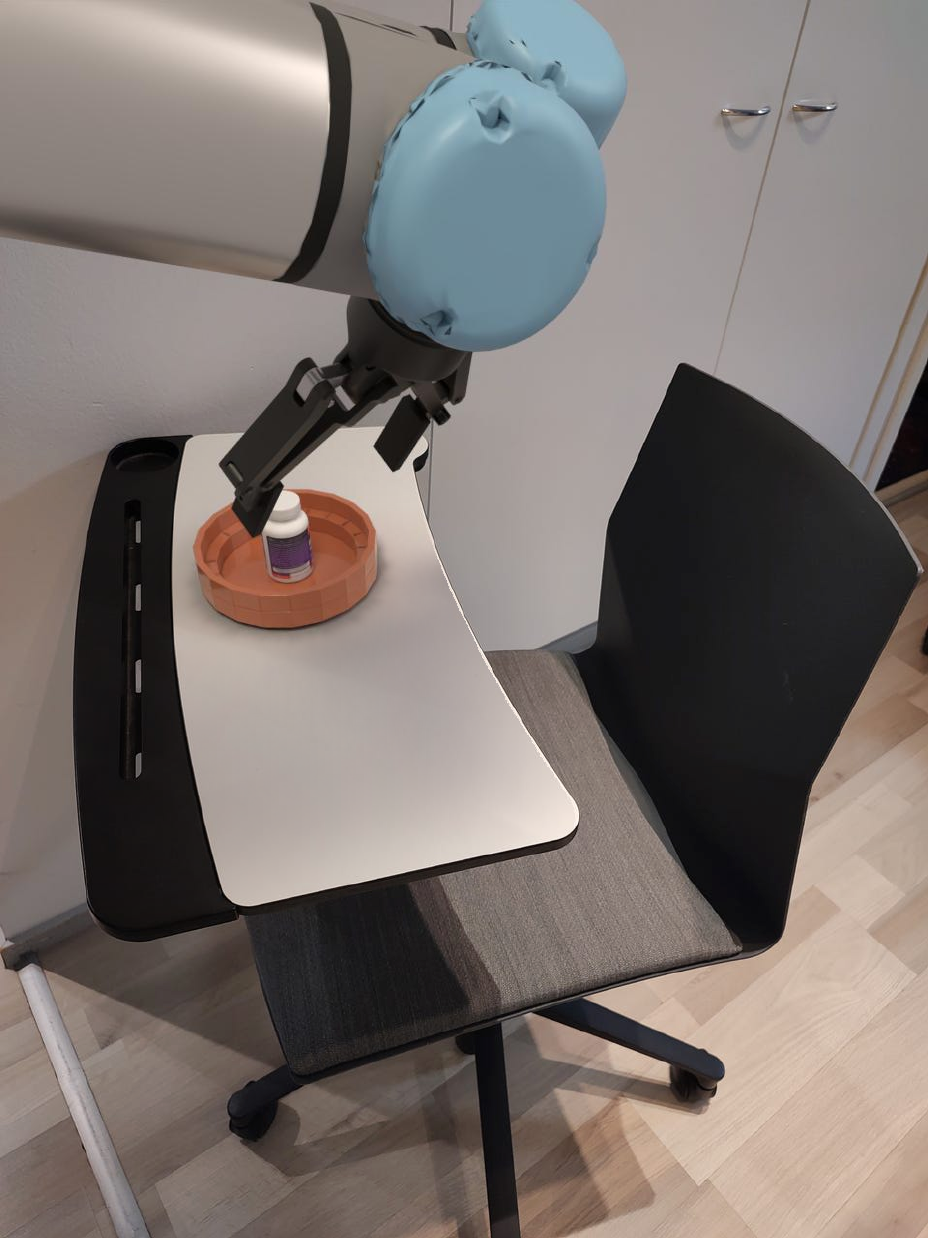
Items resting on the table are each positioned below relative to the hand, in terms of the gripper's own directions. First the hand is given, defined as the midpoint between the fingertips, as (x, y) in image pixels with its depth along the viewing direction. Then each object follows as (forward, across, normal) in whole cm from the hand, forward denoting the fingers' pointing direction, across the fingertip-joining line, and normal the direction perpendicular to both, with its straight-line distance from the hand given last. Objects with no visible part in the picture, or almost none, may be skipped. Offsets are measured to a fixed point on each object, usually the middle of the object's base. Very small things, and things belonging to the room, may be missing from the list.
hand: (320, 488), depth 67 cm
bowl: (+23, +6, +2) cm, 23 cm away
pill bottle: (+22, +6, +2) cm, 23 cm away
